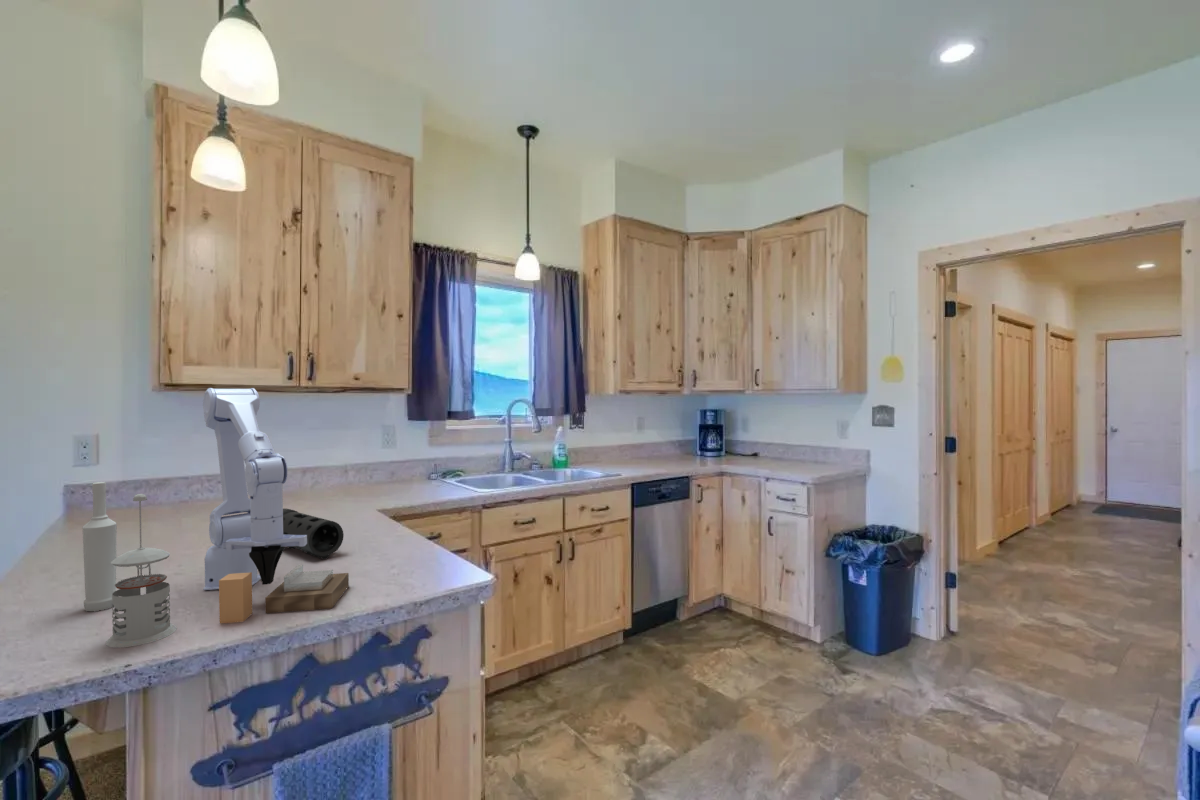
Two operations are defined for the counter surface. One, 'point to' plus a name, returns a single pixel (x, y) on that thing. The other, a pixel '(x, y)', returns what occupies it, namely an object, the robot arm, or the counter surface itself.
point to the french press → (141, 598)
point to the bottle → (99, 554)
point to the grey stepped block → (306, 579)
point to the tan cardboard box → (235, 597)
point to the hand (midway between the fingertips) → (267, 582)
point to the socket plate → (307, 596)
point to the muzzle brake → (313, 533)
